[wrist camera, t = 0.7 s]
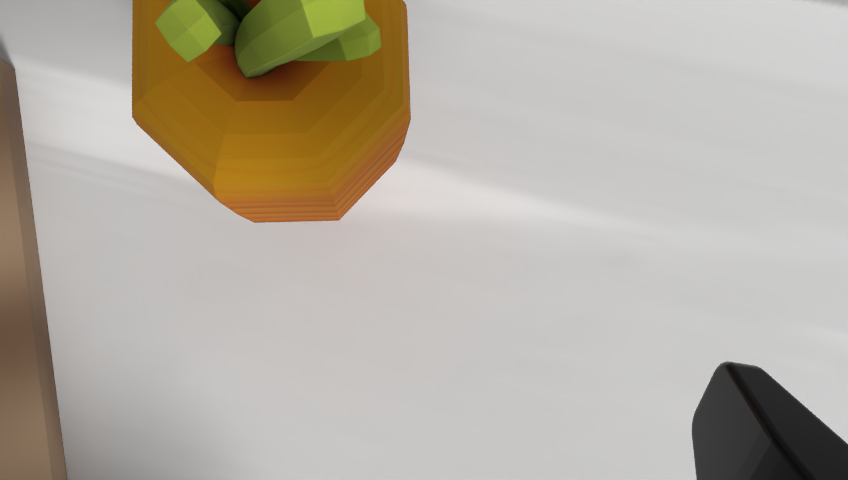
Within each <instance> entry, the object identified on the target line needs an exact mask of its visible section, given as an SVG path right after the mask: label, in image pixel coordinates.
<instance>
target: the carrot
mask: <svg viewBox="0 0 848 480" xmlns="http://www.w3.org/2000/svg"><path fill="white" fill-rule="evenodd" d="M132 117H133V119H134V120H135V122H136V123H137V125H138V126H139V127H141V128H142V129H143V130H144V131H145V132H146V133H147V134H148V135H149V136H150V137H151V138H152V139H153V140H154V141H155V142H156V143H158V144H159V145H160V146H161V147H162V148H163V149H164V150H165V151H166V152H167V153H168V154H169V155H170V156H171V157H172V158H173V159H174V160H176V161H177V162H178V163H179V164H180V165H181V166H182V167H183V168H184V169H185V170H186V171H187V172H188V173H189V174H190V175H191V176H192V177H194V178H195V179H196V180H197V181H198V182H199V183H200V184H201V185H202V186H203V187H204V188H205V189H206V190H207V191H208V192H209V193H210V194H212V195H213V196H214V197H215V198H216V199H217V200H218V201H219V202H220V203H222V204H223V205H225V206H226V207H228V208H229V209H231V210H232V211H234V212H235V213H237V214H238V215H240V216H242V217H244V218H246V219H248V220H250V221H252V222H255V223H257V222H296V221H335V220H340V219H341V218H342V217H343V215H344V214H345V213H346V212H347V211H348V210H349V209H350V208H351V207H352V206H353V205H354V204H355V203H356V202H357V201H358V200H359V199H360V198H361V197H362V196H363V195H364V194H365V193H366V192H367V191H368V190H369V189H370V188H371V186H372V185H373V184H374V183H375V182H376V181H377V180H378V179H379V178H380V177H381V176H382V175H383V174H384V173H385V172H386V171H387V170H388V169H389V168H390V167H391V166H392V165H393V164H394V163H395V162H396V160H397V157H398V155H399V153H400V151H401V148H402V146H403V144H404V141H405V137H406V134H407V130H408V127H409V123H410V120H411V115H410V85H409V56H408V26H407V9H406V4H405V3H404V1H403V0H133V37H132Z"/></svg>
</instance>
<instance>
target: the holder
mask: <svg viewBox="0 0 848 480" xmlns="http://www.w3.org/2000/svg"><path fill="white" fill-rule="evenodd" d="M0 480H67V474H66V466H65V458H64V450H63V443H62V435H61V427H60V419H59V411H58V404H57V396H56V388H55V380H54V372H53V365H52V357H51V349H50V341H49V333H48V326H47V318H46V310H45V302H44V294H43V287H42V279H41V271H40V263H39V255H38V248H37V240H36V232H35V224H34V216H33V209H32V201H31V193H30V185H29V177H28V170H27V162H26V154H25V146H24V138H23V131H22V123H21V115H20V107H19V99H18V92H17V84H16V76H15V69H14V68H13V67H12V66H10V65H9V64H8V63H6V62H5V61H4V60H2V59H1V58H0Z"/></svg>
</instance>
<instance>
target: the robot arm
mask: <svg viewBox="0 0 848 480" xmlns="http://www.w3.org/2000/svg"><path fill="white" fill-rule="evenodd" d="M692 440H693V449H694V458H695V468H696V477H697V480H848V444H847V443H846V442H845V441H844V440H843V439H841V438H840V437H839V436H838V435H837V434H836V433H835V432H833V431H832V430H831V429H830V428H829V427H828V426H827V425H825V424H824V423H823V422H822V421H821V420H820V419H819V418H817V417H816V416H815V415H814V414H813V413H812V412H811V411H809V410H808V409H807V408H806V407H805V406H804V405H803V404H802V403H800V402H799V401H798V400H797V399H796V398H795V397H794V396H792V395H791V394H790V393H789V392H788V391H787V390H786V389H784V388H783V387H782V386H781V385H780V384H779V383H778V382H776V381H775V380H774V379H773V378H772V377H771V376H770V375H768V374H767V373H766V372H765V371H764V370H763V369H761V368H759V367H757V366H753V365H747V364H741V363H735V362H724V363H722V364H720V365H719V366H718V367H717V369H716V370H715V372H714V374H713V376H712V378H711V380H710V382H709V384H708V386H707V388H706V390H705V392H704V394H703V397H702V399H701V401H700V403H699V405H698V407H697V409H696V411H695V414H694V417H693V422H692Z"/></svg>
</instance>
